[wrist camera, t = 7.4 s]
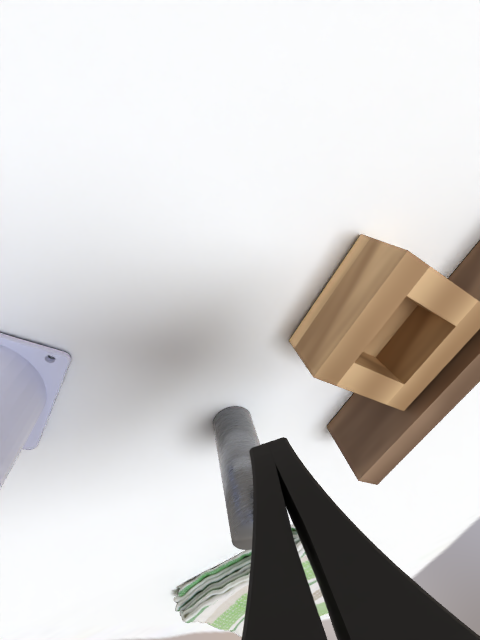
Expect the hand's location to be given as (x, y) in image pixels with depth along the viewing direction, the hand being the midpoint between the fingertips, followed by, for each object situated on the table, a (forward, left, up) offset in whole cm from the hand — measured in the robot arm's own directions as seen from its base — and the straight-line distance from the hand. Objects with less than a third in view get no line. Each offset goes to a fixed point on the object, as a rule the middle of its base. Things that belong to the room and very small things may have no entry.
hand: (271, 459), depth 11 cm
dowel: (+4, -7, -9) cm, 12 cm away
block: (+8, +5, -9) cm, 13 cm away
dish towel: (+24, -30, -10) cm, 40 cm away
